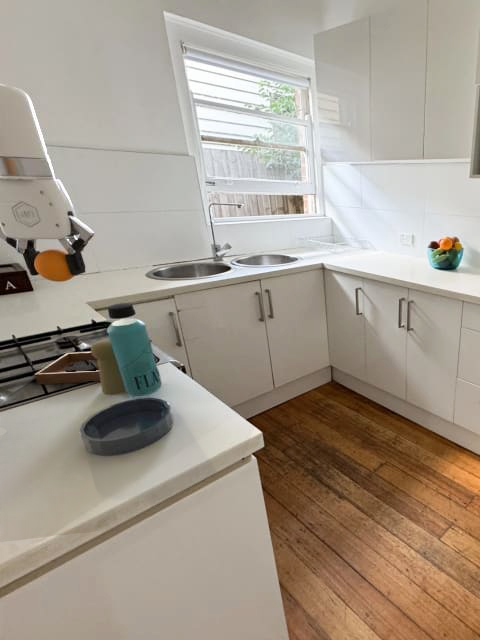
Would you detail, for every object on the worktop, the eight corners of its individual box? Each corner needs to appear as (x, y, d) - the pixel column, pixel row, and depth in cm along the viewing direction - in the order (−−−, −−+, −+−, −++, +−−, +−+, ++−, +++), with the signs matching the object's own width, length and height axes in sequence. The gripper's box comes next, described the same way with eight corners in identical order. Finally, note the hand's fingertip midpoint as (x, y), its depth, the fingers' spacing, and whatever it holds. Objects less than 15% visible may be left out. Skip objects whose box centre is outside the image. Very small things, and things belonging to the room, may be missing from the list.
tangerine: (32, 285, 70) (19, 252, 67) (55, 277, 75) (44, 246, 73) (68, 285, 70) (58, 252, 68) (89, 277, 76) (79, 246, 73)
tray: (37, 384, 83) (33, 374, 82) (70, 361, 93) (67, 352, 92) (105, 381, 85) (102, 371, 84) (130, 359, 95) (127, 350, 94)
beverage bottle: (138, 406, 76) (109, 312, 68) (121, 397, 79) (91, 306, 71) (171, 392, 82) (147, 303, 74) (153, 384, 85) (129, 297, 77)
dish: (67, 459, 62) (60, 444, 61) (111, 413, 74) (106, 400, 73) (155, 451, 64) (151, 437, 63) (184, 408, 76) (181, 395, 75)
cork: (142, 384, 84) (129, 339, 80) (113, 397, 79) (96, 349, 75) (125, 378, 86) (111, 333, 82) (95, 390, 81) (79, 343, 77)
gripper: (-57, 167, 60) (-11, 278, 67) (65, 171, 63) (97, 278, 70) (-16, 168, 67) (23, 269, 74) (93, 172, 70) (120, 269, 77)
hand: (59, 273), depth 72 cm, fingers closed on tangerine, 6 cm apart
